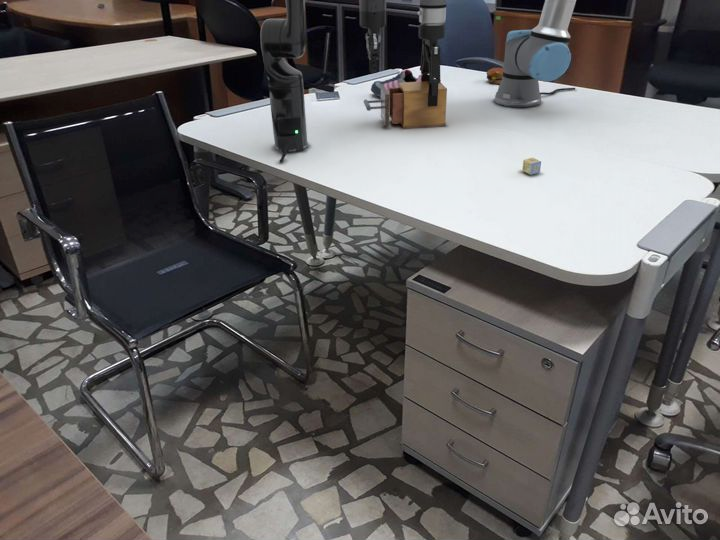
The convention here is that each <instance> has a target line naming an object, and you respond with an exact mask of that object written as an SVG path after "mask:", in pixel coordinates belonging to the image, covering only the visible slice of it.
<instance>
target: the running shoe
mask: <svg viewBox="0 0 720 540" xmlns="http://www.w3.org/2000/svg"><path fill="white" fill-rule="evenodd" d="M421 75H423V74H419V75H418V77H416V76H414V75H413V72H412V71H411V70H410V69H404V70H402V71H400V73H398V74H397V75H396V76H394V77H391V78H388V79H385V80H382V81H381V80H375V81H374V82H373V83H372V84H371V86H370V91H371V93H372V94H373V95H375V96H377V97H379V98H381V87H385V89H386V90H387V92H388V94H389V88H398V83H403V82H421Z"/></svg>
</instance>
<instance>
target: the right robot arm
mask: <svg viewBox="0 0 720 540" xmlns="http://www.w3.org/2000/svg"><path fill="white" fill-rule="evenodd" d="M447 2H448V0H419V10H418V11H417V13H416V14H417V15H418V16H419V17H418V22H419V23H420V24H419V25H418V38H419V39H420V40H422V41H421V43H422V44H421V46H422V47H421V56H420V65H419V71H420V73H421V74H423V75H421V74H420V75H421V82H422V81H428V83H427V84H429V91H428V107H429V106H437V103H438V84H439V83H440V82H441V81H442V80H441V50H442V49H441V46H440V45H438V41H439V40H442V39H445V33H446V25H445V24H444V23H446V19H447ZM576 2H577V0H544V3H543V7H542V10H541V15H540V18H539V22H538V24H537V25H536V26H535V27H534V28H532V29H519V30H517V29H516V30H510V31H508V32H507V35H506V39H505V40H506V41H505V46H504V47H505V49H504V57H503V67H502V68H503V77H502V81H501V83H500V84H499V85H498V88H497V91H496V92H495V95H494V102H495V103H496V104H498V105H500V106H502V107H503V106H504V107H509V108H532V107H536V106H539V105H540V104H541V102H542V96H543V95H545V96H549V95H554V94H555V93H556V92H557V93H558V92H560V91H576V87H563V88H556V89H554V90H553V91H551V92H542V91H541V90H540V84H539V81H541V82H547V83H548V82H549V83H550V82H553V81H555V80H557V79H559V78H560V77H562V76H563V75H564V74H565V72H567V71H568V69H569V67H570V64H571V60H572V52H571V51H570V48H569V44H570V40H571V35H570V33H569V31H568V29H569V26H570V21H571V19H572V16H573V13H574V9H575V7H576V4H577V3H576ZM441 83H442V82H441ZM540 91H541V92H540Z"/></svg>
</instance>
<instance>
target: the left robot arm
mask: <svg viewBox="0 0 720 540" xmlns="http://www.w3.org/2000/svg"><path fill="white" fill-rule="evenodd" d="M284 1H285V2H284V3H285V8H286V9H285V10H286V18H267V19H265V20H264V21H263V22H262V24H261V28H260V34H259V35H260V37H259V40H260V49H261V54H262V60H263V61H262V62H263V67H264V68H263V69H264V74H265V77H266V78H267V83H268V84H267V85H268V93H269V105H270V113H271V114H270V115H271V124H272V133H273V142H274V144H273V146H274V150H276V151H279V152H280V153H281V157H280V159H279V163H281V164H282V163H283V162H284V160H285V158H286V155H287V153H294V152H296V153H297V152H304V150H305V149H307V148H308V147H309V142H308V131H307V118H306V116H307V115H306V104H305V89H304V88H305V87H304V76H303V73H302V71H301V70H299V69H296V68H294V67H293V66H291V65H290V64H289V63H288V61H286V59H300V58H302V57H303V56H304V55H305V52H306V49H307V42H308V41H307V39H308V35H307V34H308V33H307V15H306V1H305V0H284ZM358 4H359V5H358V7H359V10H358V11H359V27H360V28H362V29H367V32H366V33H365V40H366V50H367V55H368V56H367V58H368V59H369V61H368V66H369V72H370V74H377V73H378V60H379V59H380V51H381V39H382V38H381V37H382V36H381V34H380V32H379V29H382V28H385V27H386V26H387V0H358Z"/></svg>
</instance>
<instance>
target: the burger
mask: <svg viewBox="0 0 720 540" xmlns="http://www.w3.org/2000/svg"><path fill="white" fill-rule="evenodd" d="M503 68H504V67H493V68H490V69H488V70H487V71H486V79H487V81H488V82H489V83H494V84H496V85H500V83H501V81H502V77H503Z"/></svg>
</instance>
